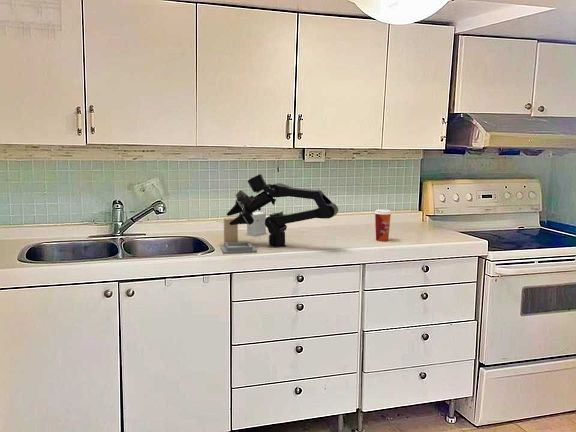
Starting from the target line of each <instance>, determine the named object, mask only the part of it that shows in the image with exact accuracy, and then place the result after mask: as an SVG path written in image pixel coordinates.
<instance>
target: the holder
mask: <svg viewBox="0 0 576 432" xmlns="http://www.w3.org/2000/svg"><path fill="white" fill-rule="evenodd" d="M220 251H221V252H222V254H223V255H227V254H251V253H252V254H257V253H258V250H257V249H256V247H255V246H254V244H251V243H250V241H243V242H242V241H238V242H234V243H225V245H220Z"/></svg>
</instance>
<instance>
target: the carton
mask: <svg viewBox="0 0 576 432" xmlns="http://www.w3.org/2000/svg"><path fill="white" fill-rule="evenodd" d="M236 217H237V216H235V217H234V216H232V217H231V216H230V217H229V216H227V217H223V246H225V243H234V242H239V234H238V233H239V232H238V231H239V226H238V225H239V224H237V225H230V224H229V223H230V222H231V221H232V220H234V219H235V218H236Z"/></svg>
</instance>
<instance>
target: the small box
mask: <svg viewBox="0 0 576 432" xmlns="http://www.w3.org/2000/svg"><path fill="white" fill-rule="evenodd" d="M252 217H253V219H254V222H253V223H252V224H250V225H249V224H246V235H247V236H251V237H258V236H262V235H266V234H267V227H266V225H265V219H266V218H267V213H266V212H262V211H255V212H253V215H252Z"/></svg>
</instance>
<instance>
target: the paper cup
mask: <svg viewBox="0 0 576 432" xmlns="http://www.w3.org/2000/svg"><path fill="white" fill-rule="evenodd" d="M391 215H392V210H390V209H382V208H381V209H375V212H374V217H375V219H374V220H375V221H374V222H375V241H377V242H388V241H389V235H390V225H391V224H390V223H391Z"/></svg>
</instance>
